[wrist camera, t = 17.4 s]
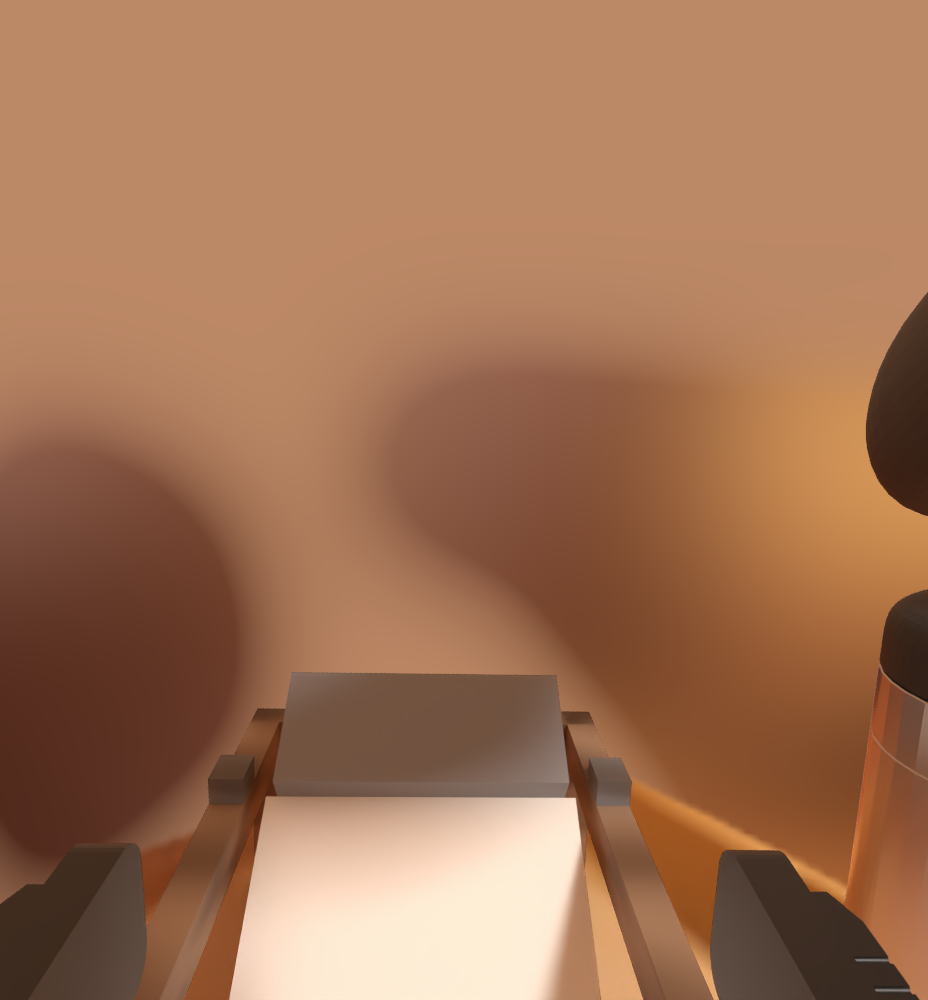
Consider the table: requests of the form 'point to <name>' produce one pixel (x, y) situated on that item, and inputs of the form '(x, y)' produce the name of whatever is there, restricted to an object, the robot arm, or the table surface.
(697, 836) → the table surface
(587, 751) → the frame
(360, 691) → the trapdoor
